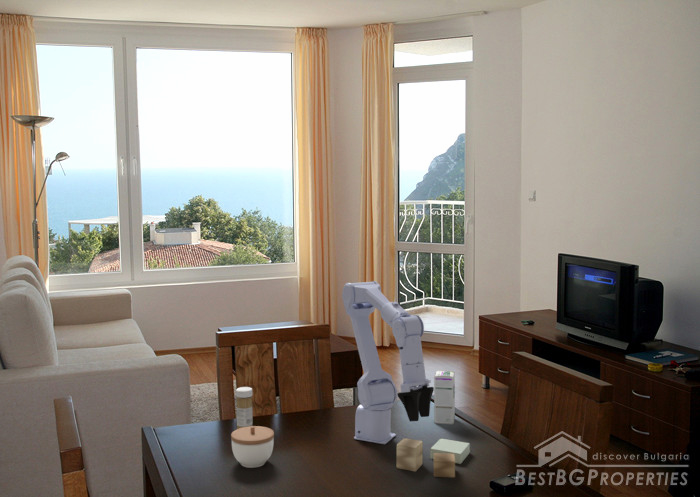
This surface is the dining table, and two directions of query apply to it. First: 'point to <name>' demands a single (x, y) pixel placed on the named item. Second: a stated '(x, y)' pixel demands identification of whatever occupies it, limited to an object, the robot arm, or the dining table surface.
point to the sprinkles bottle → (244, 407)
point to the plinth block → (451, 449)
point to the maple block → (409, 454)
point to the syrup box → (444, 397)
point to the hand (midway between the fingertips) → (419, 418)
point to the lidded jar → (252, 445)
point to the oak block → (444, 465)
